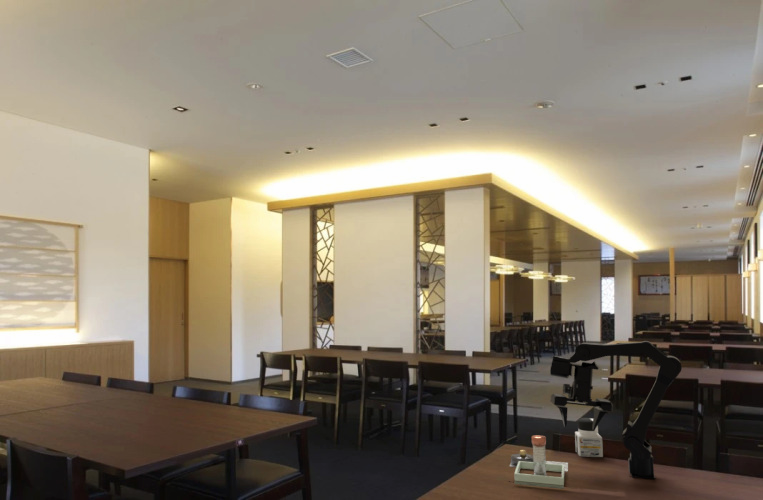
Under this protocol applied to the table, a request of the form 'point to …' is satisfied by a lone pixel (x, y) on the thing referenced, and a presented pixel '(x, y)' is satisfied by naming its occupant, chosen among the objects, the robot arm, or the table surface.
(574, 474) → the table surface
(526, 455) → the plate
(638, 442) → the robot arm
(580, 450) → the container
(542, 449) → the glass spice jar
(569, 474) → the table surface
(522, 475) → the tray
